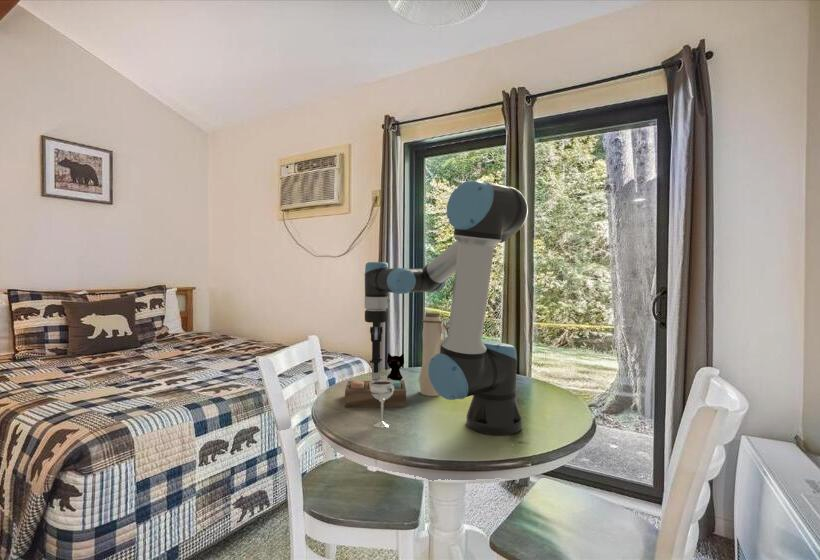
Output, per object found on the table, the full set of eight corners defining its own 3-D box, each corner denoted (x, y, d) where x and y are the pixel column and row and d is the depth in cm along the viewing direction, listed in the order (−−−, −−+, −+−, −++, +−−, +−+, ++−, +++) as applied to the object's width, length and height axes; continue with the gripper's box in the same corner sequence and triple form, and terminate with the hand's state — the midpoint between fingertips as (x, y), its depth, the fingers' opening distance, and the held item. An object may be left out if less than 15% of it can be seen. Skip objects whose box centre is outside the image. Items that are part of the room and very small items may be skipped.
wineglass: (377, 430, 113) (377, 386, 113) (365, 422, 119) (365, 380, 119) (398, 425, 117) (399, 382, 117) (386, 418, 123) (386, 377, 122)
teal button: (401, 400, 137) (401, 384, 137) (387, 400, 137) (387, 384, 137) (400, 395, 142) (400, 380, 141) (387, 396, 141) (387, 380, 141)
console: (405, 406, 134) (406, 390, 133) (344, 407, 132) (344, 391, 132) (403, 394, 146) (404, 380, 145) (347, 395, 144) (348, 380, 144)
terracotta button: (363, 400, 136) (363, 384, 136) (350, 400, 136) (350, 384, 136) (364, 396, 141) (364, 380, 141) (351, 396, 141) (351, 380, 140)
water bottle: (448, 389, 152) (449, 311, 151) (448, 397, 143) (449, 314, 142) (420, 388, 153) (420, 311, 152) (418, 396, 144) (418, 313, 143)
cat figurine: (383, 387, 155) (384, 354, 154) (388, 382, 161) (388, 350, 161) (403, 388, 153) (403, 355, 153) (406, 383, 160) (406, 351, 160)
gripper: (388, 311, 132) (387, 387, 133) (387, 307, 145) (387, 376, 145) (363, 311, 131) (363, 387, 132) (365, 307, 144) (365, 376, 145)
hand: (375, 381), depth 139 cm, fingers closed
